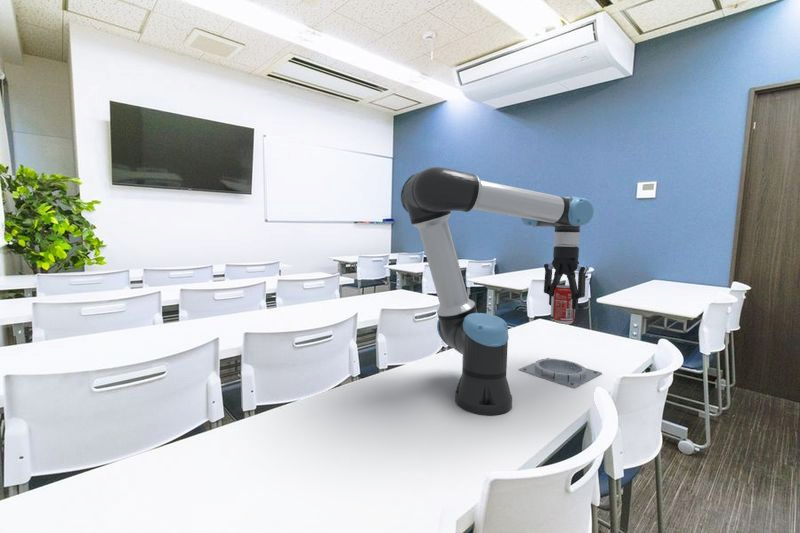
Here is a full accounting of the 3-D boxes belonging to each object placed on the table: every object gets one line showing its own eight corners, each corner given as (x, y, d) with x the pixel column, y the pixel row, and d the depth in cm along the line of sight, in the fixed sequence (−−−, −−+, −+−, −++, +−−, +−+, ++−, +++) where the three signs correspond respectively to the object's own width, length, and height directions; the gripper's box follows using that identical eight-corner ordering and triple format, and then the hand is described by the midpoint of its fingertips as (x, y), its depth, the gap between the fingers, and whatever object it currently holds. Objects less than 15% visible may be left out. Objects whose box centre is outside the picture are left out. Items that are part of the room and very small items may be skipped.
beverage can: (570, 320, 129) (571, 285, 128) (577, 324, 123) (578, 287, 122) (550, 320, 129) (551, 284, 129) (556, 324, 123) (557, 286, 122)
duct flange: (574, 388, 114) (575, 381, 114) (518, 370, 129) (518, 364, 129) (601, 374, 127) (602, 368, 127) (547, 359, 141) (547, 353, 141)
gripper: (600, 246, 120) (596, 320, 122) (545, 244, 134) (542, 311, 136) (590, 247, 115) (585, 323, 117) (534, 244, 129) (530, 313, 131)
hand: (562, 316), depth 126 cm, fingers closed on beverage can, 5 cm apart
